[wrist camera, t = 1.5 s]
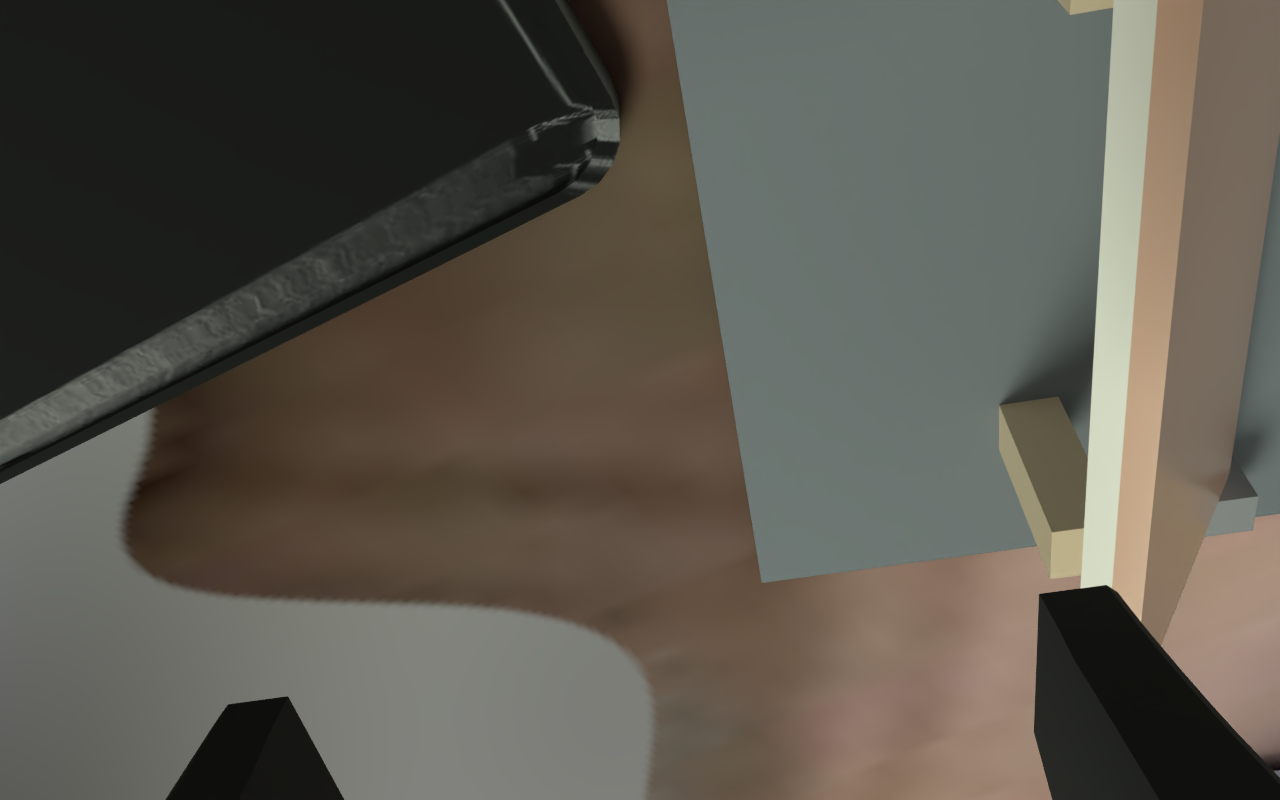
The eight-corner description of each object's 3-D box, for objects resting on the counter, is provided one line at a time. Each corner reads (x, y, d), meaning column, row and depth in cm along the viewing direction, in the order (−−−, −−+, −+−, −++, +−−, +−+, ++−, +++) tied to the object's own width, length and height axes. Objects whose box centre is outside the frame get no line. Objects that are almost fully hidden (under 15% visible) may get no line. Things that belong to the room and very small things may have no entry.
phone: (648, 161, 18) (-83, 526, 22) (647, 129, 19) (-56, 485, 23) (324, -397, 14) (-507, 179, 18) (341, -404, 15) (-453, 146, 19)
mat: (1624, 443, 22) (1782, 593, 19) (758, 560, 24) (779, 717, 21) (2030, -591, 14) (2435, -613, 11) (618, -303, 15) (618, -251, 12)
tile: (1188, 445, 22) (1237, 456, 21) (1073, 704, 18) (1130, 724, 17) (1271, -251, 15) (1344, -255, 15) (1117, -79, 11) (1212, -79, 11)
